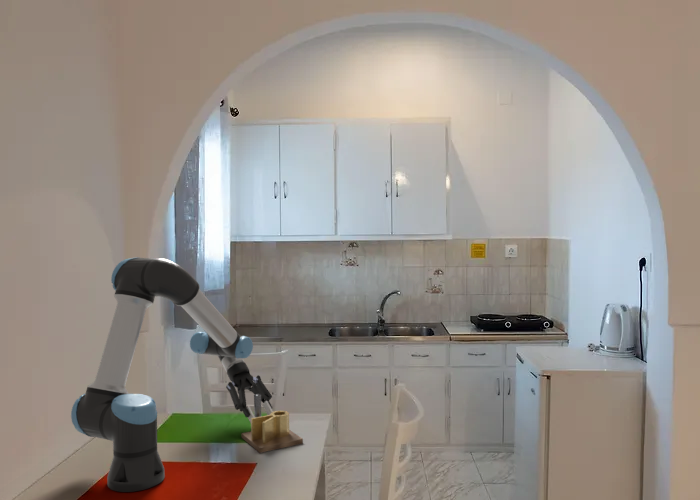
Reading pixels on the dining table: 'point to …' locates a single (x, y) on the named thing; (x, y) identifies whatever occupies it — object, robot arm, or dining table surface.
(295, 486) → the dining table surface
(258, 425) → the brass hinge
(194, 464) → the dining table surface
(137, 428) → the robot arm
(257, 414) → the hinge pin
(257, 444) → the walnut board
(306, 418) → the dining table surface
